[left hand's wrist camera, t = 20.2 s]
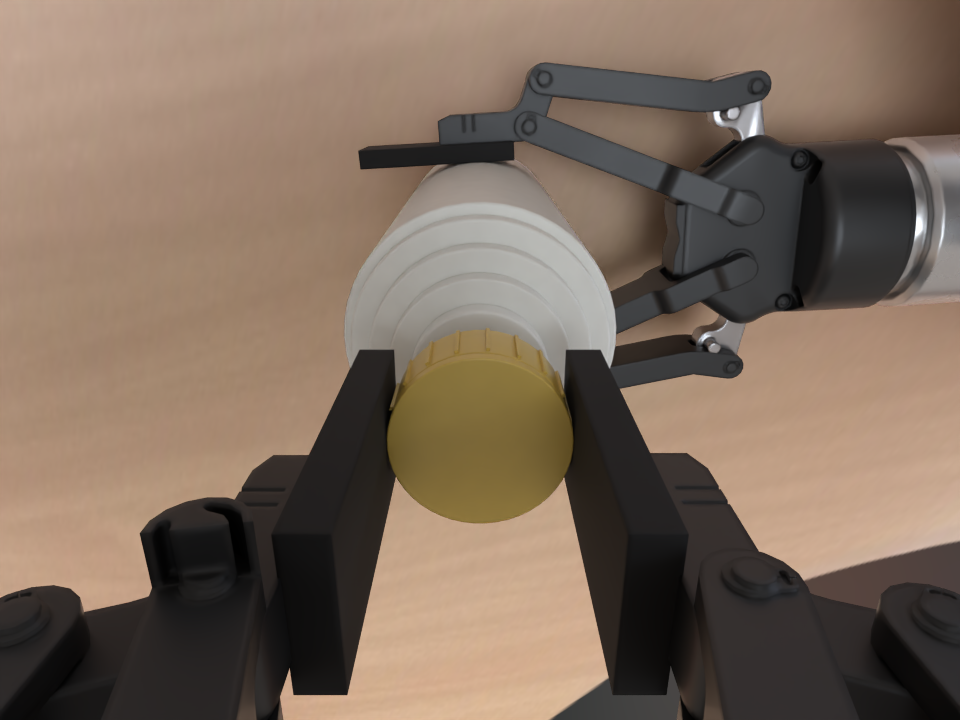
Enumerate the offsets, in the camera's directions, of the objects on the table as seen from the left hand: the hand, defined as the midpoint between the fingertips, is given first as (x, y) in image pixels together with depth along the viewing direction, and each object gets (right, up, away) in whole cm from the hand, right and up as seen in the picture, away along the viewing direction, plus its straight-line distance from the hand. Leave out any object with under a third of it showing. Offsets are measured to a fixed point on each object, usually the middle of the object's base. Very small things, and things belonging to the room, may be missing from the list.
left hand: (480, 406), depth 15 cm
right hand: (-5, +6, +16) cm, 18 cm away
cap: (0, 0, -1) cm, 1 cm away
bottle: (0, +9, +21) cm, 23 cm away
